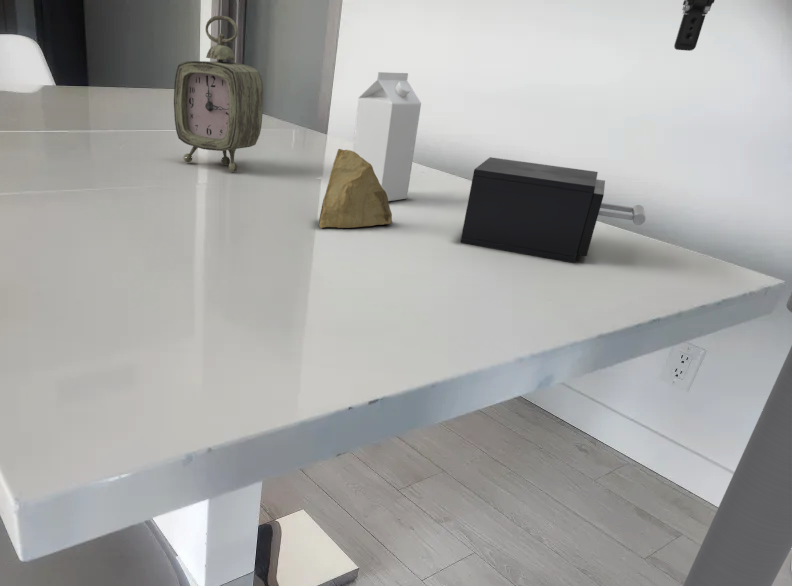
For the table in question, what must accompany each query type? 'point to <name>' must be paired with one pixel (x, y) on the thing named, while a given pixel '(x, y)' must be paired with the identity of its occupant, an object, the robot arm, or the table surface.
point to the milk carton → (388, 131)
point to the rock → (354, 195)
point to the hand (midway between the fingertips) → (683, 49)
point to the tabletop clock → (218, 101)
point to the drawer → (595, 210)
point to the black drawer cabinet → (528, 208)
